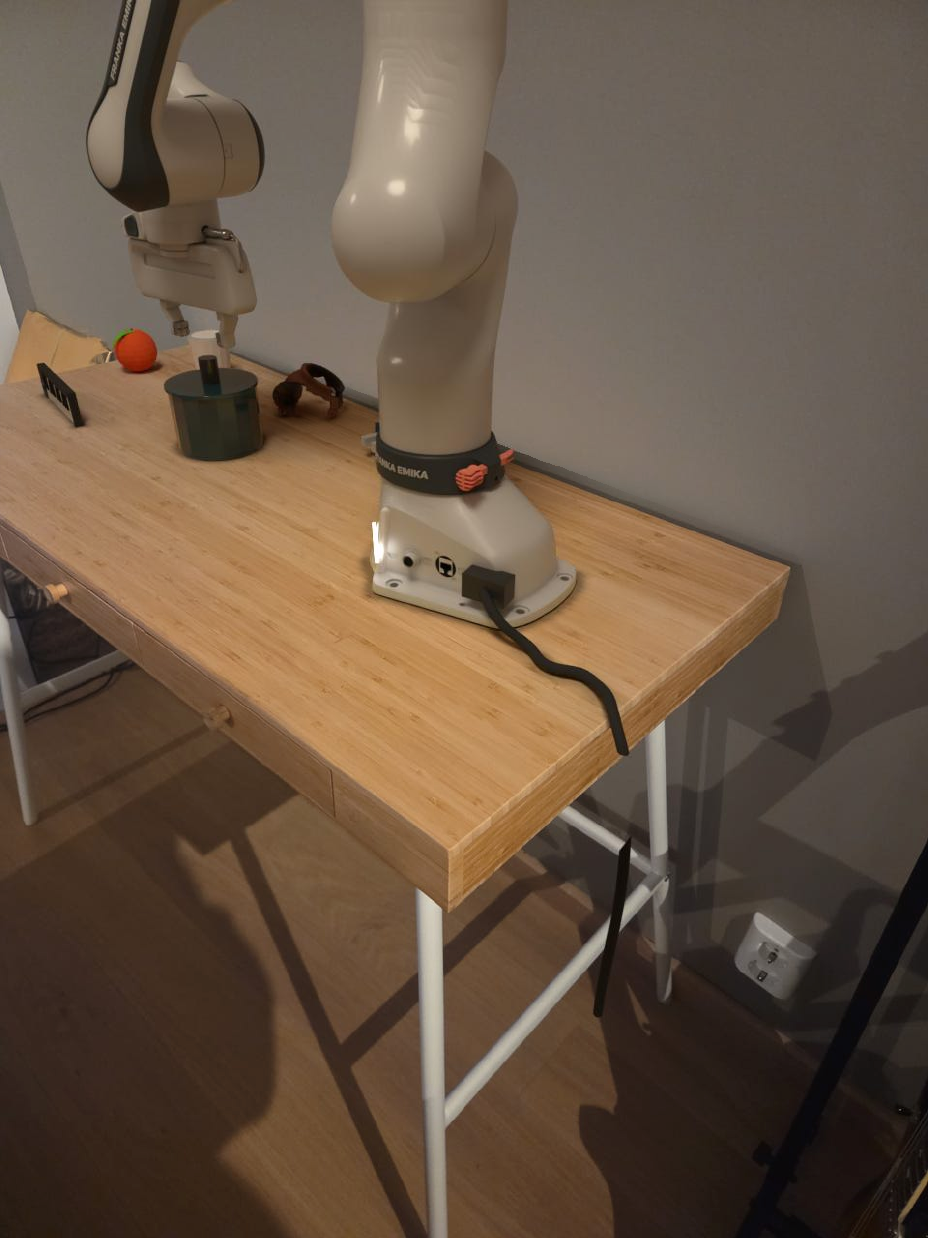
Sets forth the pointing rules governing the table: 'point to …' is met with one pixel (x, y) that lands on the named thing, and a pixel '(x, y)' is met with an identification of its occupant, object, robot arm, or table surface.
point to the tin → (218, 426)
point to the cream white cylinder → (207, 347)
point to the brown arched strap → (308, 389)
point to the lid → (210, 381)
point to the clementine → (135, 350)
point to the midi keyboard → (60, 394)
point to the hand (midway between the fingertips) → (203, 340)
